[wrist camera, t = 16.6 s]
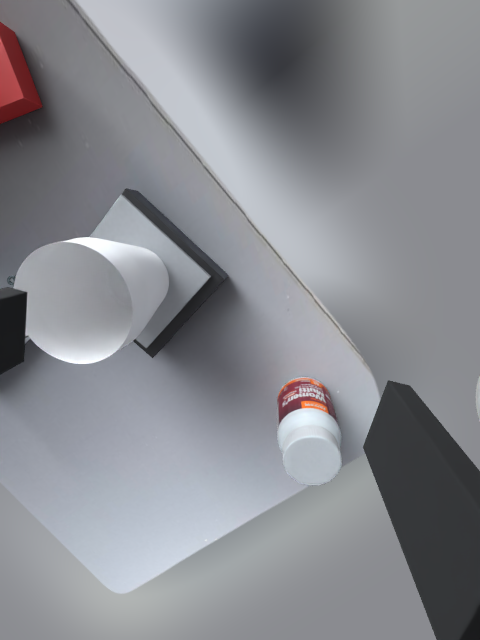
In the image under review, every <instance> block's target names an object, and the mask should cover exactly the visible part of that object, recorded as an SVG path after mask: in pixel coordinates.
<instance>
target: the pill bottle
mask: <svg viewBox="0 0 480 640" xmlns="http://www.w3.org/2000/svg"><path fill="white" fill-rule="evenodd" d="M277 439H278V445H279V448H280V450H281V452H282V455H283V465H284V468H285V470H286V472H287V474H288V475H289V476H290V477H291V478H292V479H293V480H295V481H296V482H298V483H301V484H303V485H308V486H318V485H322V484H325V483H327V482H329V481H331V480H332V479H333V478H335V477H336V475H337V474H338V473H339V471H340V469H341V465H342V457H341V453H340V446H341V431H340V427H339V424H338V421H337V418H336V414H335V411H334V408H333V404H332V401H331V398H330V395H329V392H328V390H327V388H326V387H325V386H324V385H323V384H322V383H321V382H319V381H318V380H316V379H313V378H310V377H298V378H294V379H292V380H290V381H288V382H287V383H285V384H284V385H283V387H282V388H281V390H280V392H279V394H278V400H277Z"/></svg>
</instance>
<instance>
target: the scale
mask: <svg viewBox="0 0 480 640" xmlns="http://www.w3.org/2000/svg"><path fill="white" fill-rule="evenodd" d="M90 238H99V239H104V240H109V241H114V242H119V243H124V244H129V245H133V246H138V247H143V248H146V249H148V250H150V251H152V252H153V253H155V254H156V255H157V256H158V257H159V258H160V259H161V260H162V262H163V263H164V265H165V267H166V269H167V272H168V276H169V288H168V292H167V294H166V296H165V298H164V300H163V301H162V303H161V304H160V306H159V307H158V308H157V310H156V311H155V313H154V314H153V316H152V317H151V319H150V320H149V322H148V323H147V325H146V326H145V328H144V329H143V330H142V332H141V333H140V334H139V335H138V336H137V338H136V339H135V340H133V341H134V342H135V343H136V344H137V345H138V346H139V347H140V348H142V349H143V350H144V351H145V352H146V353H147V354H149V355H150V356H151V357H152V358H153V357H154V356H155V355H156V354H157V353H158V352H159V351H160V350H161V349H162V347H163V346H164V345H165V344H166V343H167V342H168V341H169V340H170V339H171V338H172V337H173V335H174V334H175V333H176V332H177V331H178V330H179V329H180V328H181V327H182V326H183V325H184V323H185V322H186V321H187V320H188V319H189V318H190V317H191V316H192V315H193V314H194V312H195V311H196V310H197V309H198V308H199V307H200V306H201V305H202V304H203V303H204V302H205V300H206V299H207V298H208V297H209V296H210V295H211V294H212V293H213V292H214V291H215V290H216V288H217V287H218V286H219V285H220V284H221V283H222V282H223V281H224V280H225V279H226V278H227V276H228V274H227V273H225V272H224V271H223V270H222V269H221V268H220V267H219V266H218V265H217V264H216V263H215V262H214V261H213V260H211V259H210V258H209V257H208V256H207V255H206V254H205V253H204V252H203V251H202V250H201V249H200V248H199V247H197V246H196V245H195V244H194V243H193V242H192V241H191V240H190V239H189V238H188V237H187V236H186V235H185V234H183V233H182V232H181V231H180V230H179V229H178V228H177V227H176V226H175V225H174V224H173V223H172V222H171V221H169V220H168V219H167V218H166V217H165V216H164V215H163V214H162V213H161V212H160V211H159V210H158V209H157V208H156V207H154V206H153V205H152V204H151V203H150V202H149V201H148V200H147V199H146V198H145V197H144V196H143V195H142V194H140V193H139V192H138V191H136V190H131V189H127V188H126V189H125V190H124V192H123V193H122V194H121V195H120V197H119V198H118V199H117V201H116V202H115V203H114V205H113V206H112V207H111V209H110V210H109V212H108V213H107V214H106V216H105V217H104V218H103V220H102V221H101V222H100V224H99V225H98V226H97V228H96V229H95V230H94V232H93V233H92V234H91V236H90Z"/></svg>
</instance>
